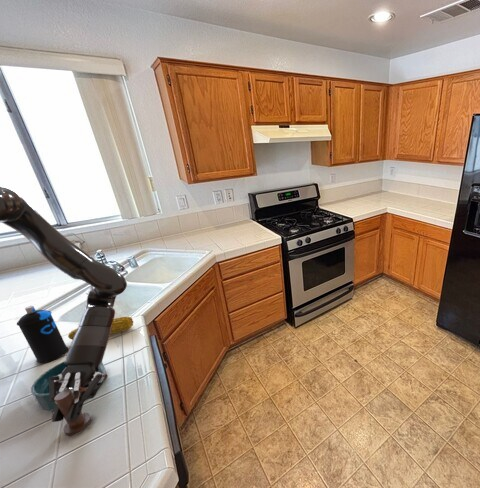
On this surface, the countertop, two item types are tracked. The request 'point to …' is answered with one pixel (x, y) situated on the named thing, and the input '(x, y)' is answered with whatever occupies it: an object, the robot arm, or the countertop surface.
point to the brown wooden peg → (64, 404)
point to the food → (113, 326)
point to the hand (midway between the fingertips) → (64, 420)
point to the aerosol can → (42, 335)
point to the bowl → (42, 386)
